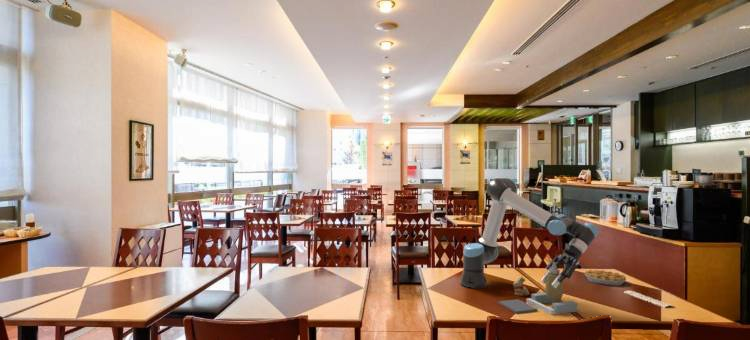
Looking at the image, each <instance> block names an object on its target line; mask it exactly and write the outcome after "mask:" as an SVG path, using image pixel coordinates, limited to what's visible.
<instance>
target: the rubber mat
mask: <svg viewBox="0 0 750 340" xmlns="http://www.w3.org/2000/svg"><path fill="white" fill-rule="evenodd" d="M497 305H500V306H502V307H503V308H505V309H507V310H508V311H511V312H513V313H514V314H517V315H518V314H523V313H524V314H525V313H533V312H538V309H539V308H537V307H535V306H533V305H531V304H529V303H527V302H526V301H525V302H524V301H522V300H521V299H519V298H517V299H509V300H499V301H497Z"/></svg>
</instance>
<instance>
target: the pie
mask: <svg viewBox="0 0 750 340" xmlns="http://www.w3.org/2000/svg"><path fill="white" fill-rule="evenodd" d="M584 275H585V277H586V278H587V280H588V281H589V282H592V283H595V284H599V285H604V286H622V285H623V284H624V283H625V282H626V280H627V277H626V276H625V275H623V274H620V273H619V272H612V271H606V270H602V269H601V270H598V269H594V270H592V269H590V270H585V272H584Z"/></svg>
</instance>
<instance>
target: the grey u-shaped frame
mask: <svg viewBox="0 0 750 340" xmlns="http://www.w3.org/2000/svg"><path fill="white" fill-rule="evenodd" d="M530 297H531V298H530ZM530 297H529V298H526V301H525V303H527V304H529V305H531V306H533V307H535V308H537V309H539V310H541V311H543V312H544V313H547V314H549V315H551V316H552V315H560V314H561V315H562V314H569V313H577V312H578V302H575V301H573V300H569V301H568V300H567V301H560V302H556V300H551V299H549V298H548V297H547V294H546V292H539V293H538V292H536V293H531V295H530ZM546 303H547V304H548V303H551V307H550V306H547V305H545V304H546Z"/></svg>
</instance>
